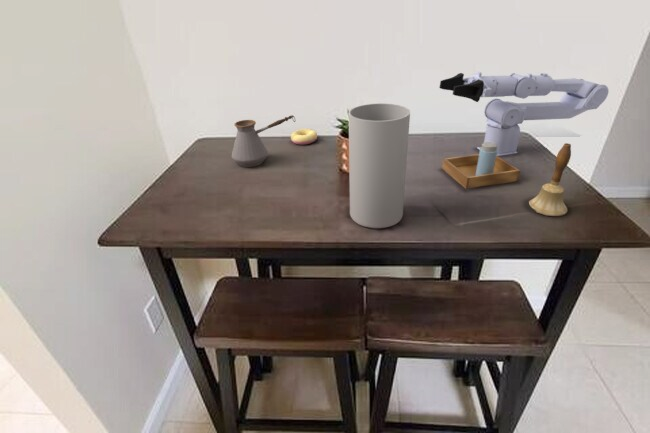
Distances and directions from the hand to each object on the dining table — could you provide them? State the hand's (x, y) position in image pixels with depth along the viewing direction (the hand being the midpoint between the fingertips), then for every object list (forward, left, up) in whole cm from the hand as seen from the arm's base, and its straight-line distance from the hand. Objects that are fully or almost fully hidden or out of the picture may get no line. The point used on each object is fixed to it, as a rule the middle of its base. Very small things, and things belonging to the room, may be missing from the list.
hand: (446, 87), depth 106 cm
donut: (+37, -30, -22) cm, 52 cm away
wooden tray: (-5, +14, -22) cm, 26 cm away
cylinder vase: (+29, +26, -22) cm, 44 cm away
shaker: (-6, +15, -21) cm, 26 cm away
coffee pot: (+52, -15, -22) cm, 58 cm away
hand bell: (-11, +34, -22) cm, 42 cm away
